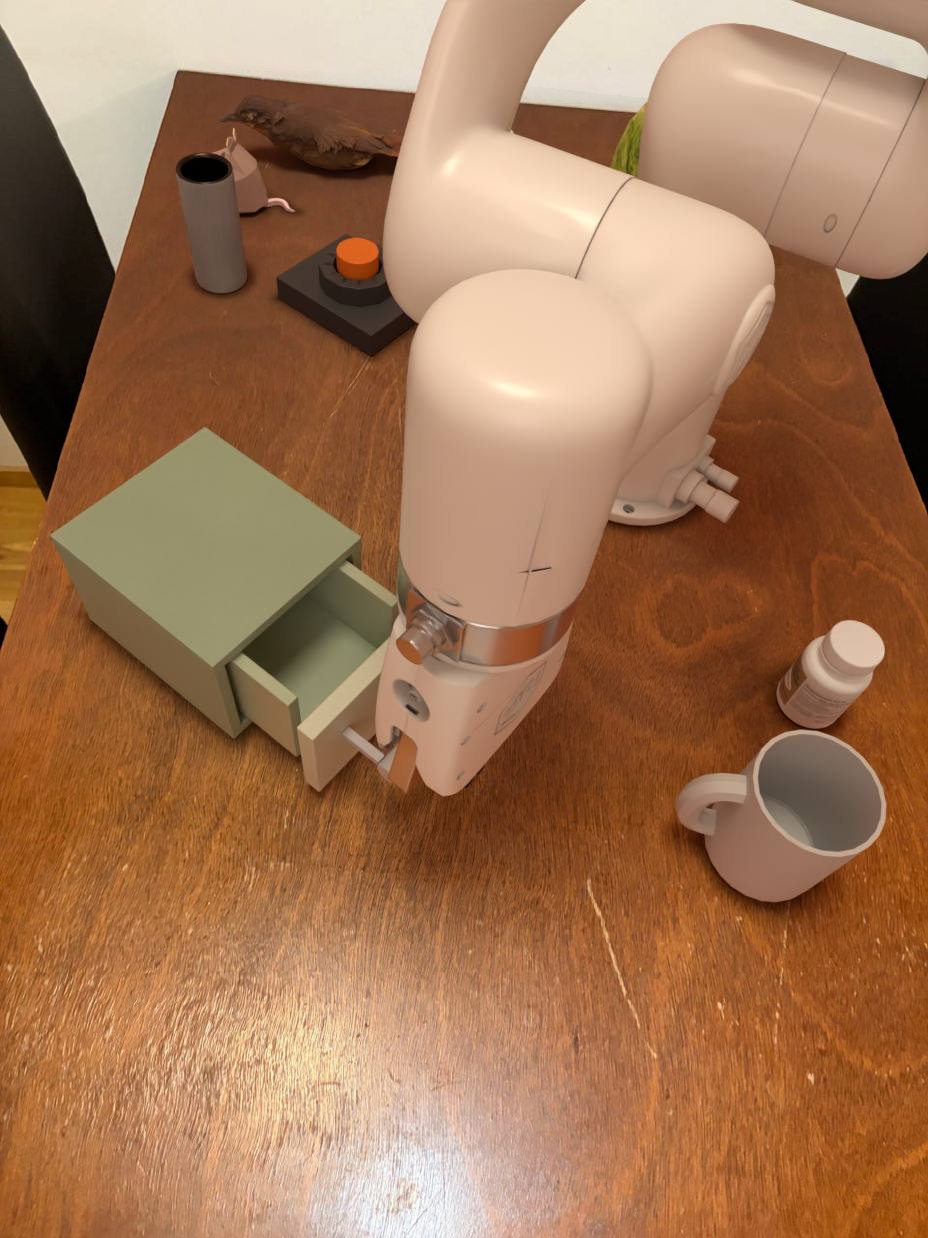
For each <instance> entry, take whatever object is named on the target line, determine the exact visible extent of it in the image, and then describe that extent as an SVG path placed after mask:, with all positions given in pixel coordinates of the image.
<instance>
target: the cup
mask: <svg viewBox="0 0 928 1238" xmlns="http://www.w3.org/2000/svg"><path fill="white" fill-rule="evenodd" d="M712 804H713V805H712ZM710 805H712V807H711V808H708V806H710ZM674 810H675V813H676V815H677V817H678V820H679V822H680V824H681V825H683V826H684V827H685V828H687V829H689V830H691V831H693V832H695V833H698V834H702V835H704V836H703V837H704V844H705V849H706V852H707V854H708V857H709V861H710V862H711V864H712V865H713V867H714V868H715V870H716V872H717V873H718V874H719V876H720V877H721V878H722V879H723V880H724V881H725V882H726V883H727V884H728V885H729V886H730V887H731V888H733V889H734V890H736V891H738V892H739V893H741V894H742V895H744V896H746V897H747V898H748V897H749V898H752V899H754V900H757V901H759V902H770V903H779V902H784V901H785V902H786V901H789V900H792V899H795V898H796V897H798V896H799V895H802V894H803V893H805V892H807V891H809V890H810V889H811V888H813V887H814V886H816V885H817V884H819V883H820V882H821V881H823V880H824V879H826V878H827V877H828V876H830V875H831V874H833V873H834V872H835V871H837V870H838V869H840V868H841V867H842V866H844V865H846V864H847V863H848V862H850V861H851V860H853V859H854V858H855V857H857V856H858V855H860V854H861V853H862V852H864V851H865V850H867V849H868V848H870V847H871V846H872V845H873V843H874V842H875V841H876V840H877V839H878V838H879V836H880V835H881V833H882V831H883V828H884V826H885V823H886V821H887V819H886V818H887V801H886V797H885V792H884V788H883V785H882V784H881V780H880V779H879V777H878V775H877V773H876V771H875V770H874V769H873V767H872V766H871V765H870V764H869V762H868V761H867V760H866V759H865V757H863V755H861V754H860V752H858V751H857V750H856V749H855V748H853V747H852V746H851V745H850V744H849V743H846V742H845V741H842V740H841V739H839V738H837V737H836V736H834V735H832V734H831V735H830V734H828V733H824V732H821V731H819V730H810V729H796V730H790V731H785V732H783V733H781V734H778V735H777V736H774V737H772V738H771V739H770V740H769V741H768V742H767V743H766V744H764V745H763V747H762V748H761V749H760V750H759V751H758V752H757V753H756V754H755V755H754V757H752V759H751V760H750V761H749V762H748V763H747V765H746V766H745V767H744V768H743V769H742V770H741V772H740V773H739V774H738V773H729V772H728V773H727V772H719V773H708V774H703V775H701V776H699V777H696V778H693V779H692V780H690V781H689V782H687V783H686V784H685V785H684V786H683V788H682V789H681V790H680V791H679V794H678V795H677V797H676V799H675V803H674Z"/></svg>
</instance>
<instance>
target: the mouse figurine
mask: <svg viewBox="0 0 928 1238" xmlns="http://www.w3.org/2000/svg"><path fill="white" fill-rule="evenodd" d="M226 138H227V139H226V143H225V147H224V148H222V149H219V150H216V151H213V152H212V153H214V154H218V155H220V156H223V157H225V158H226V159H227V160H229V161H230V163H231V164H232V166H233V172H234V179H235V187H236V194H237V201H238V209H239V215H244V214H245V215H247V214H254V213H255V212H257V211H258V210H260V209H262V208H271V207H273V206H281V207H282V208H283V209H284V210H285V211H286V212H289V213H296V210H294V209H292V208H291V207H290V206H289V202H288V201H286V200H285V199H283V198H281V197H273V198H272V197H271V198H268V192H267V191H268V190H267V188H266V186H265V182H264V180H263V176H262V174H261V170H260V168H259V167H260V166H259V165H258V162H257V161H258V160H257V159H256V158H255V157H254V156H253V155H252V154H250V152H249V151H248V150H247V149H245V148H244V147H243V146H242V144H240V143H239V139H238V135H237V131H236V128H235V127H233V128H232V136H229V137H226Z"/></svg>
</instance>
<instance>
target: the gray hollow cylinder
mask: <svg viewBox="0 0 928 1238" xmlns="http://www.w3.org/2000/svg"><path fill="white" fill-rule="evenodd" d="M174 172H175V176H176V177H175V178H176V182H177V188H178V192H179V198H180V203H181V208H182V214H183V219H184V224H185V229H186V234H187V235H186V236H187V240H188V245H189V249H190V250H189V251H190V255H191V261H192V266H193V271H194V277H195V280H196V283H197V284H198V286H200V288H202V289H203V290H205V291H207V292H210V293H214V294H227V293H232V292H235V291H238V290H240V289H241V288H242V287H243V286H245V284H246V283H247V280H248V270H247V262H246V255H245V248H244V241H243V233H242V232H243V231H242V225H241V217H240V214H239V209H238V201H237V194H236V187H235V179H234V172H233V166H232V164H231V163H230V161H229V160H227V159H226V158H225V157H223V156H220V155H218V154H214V153H213V152H195V153H194V152H193V153H191V154H188V155H185V156H183V157H182V158H181V159H180V160H178V161H177V162H176V164H175V167H174Z"/></svg>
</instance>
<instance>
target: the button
mask: <svg viewBox="0 0 928 1238" xmlns="http://www.w3.org/2000/svg"><path fill="white" fill-rule="evenodd" d="M375 244H376V243H375V242H373V241H371V240H369V239H366V238H362V237H353V238H350V239H346V240H344V241H342V242H341V243H340V244H339V245H338V246H337V249H336V259H337V270H338V272H339V273H340V274H341V275H342V276H344V277H346V278H349V279H355V280H363V279H369V278H373V277H374V276H375V275H376V274H377V273H378V270H379V250H378V248H377V246H376V245H377V244H376V245H375Z"/></svg>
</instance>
